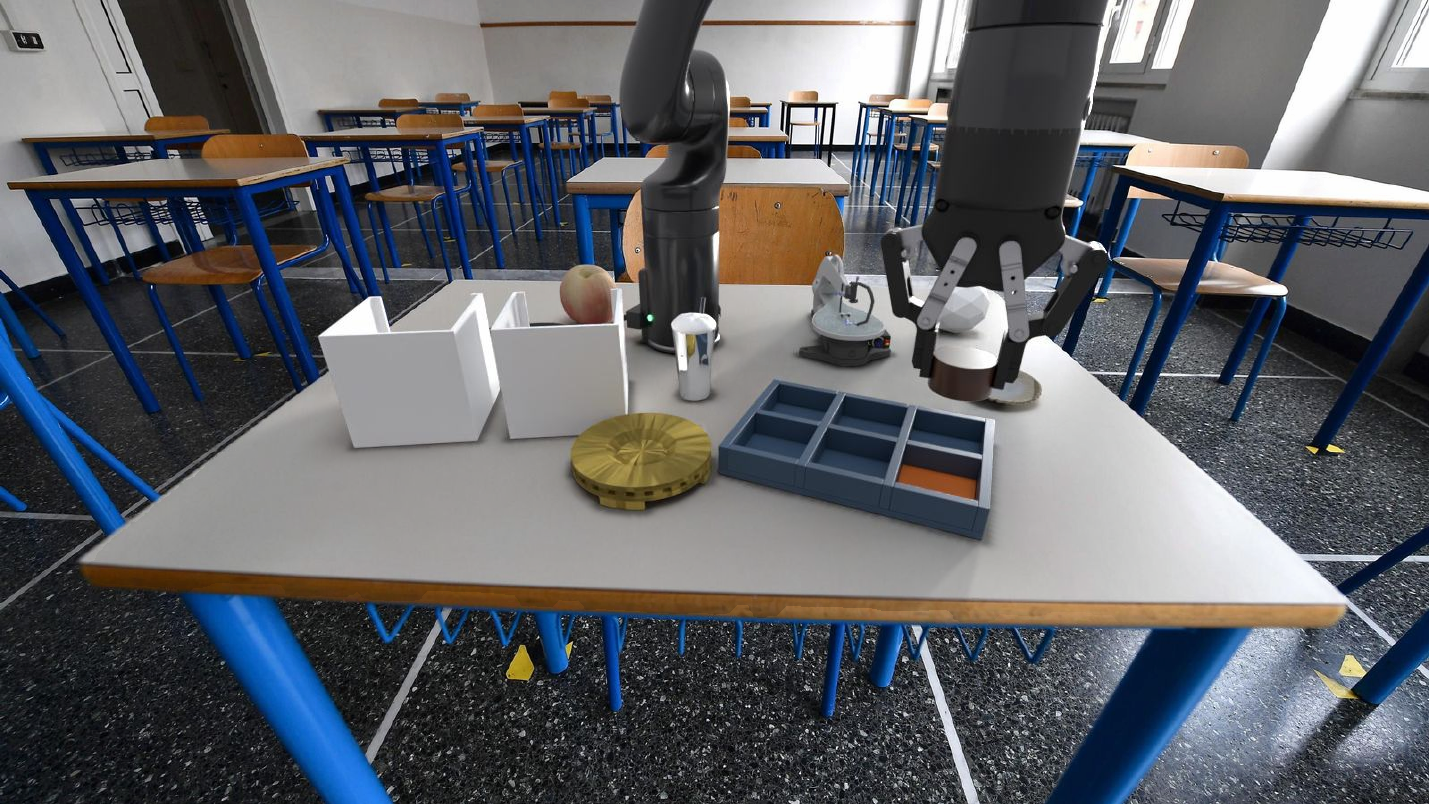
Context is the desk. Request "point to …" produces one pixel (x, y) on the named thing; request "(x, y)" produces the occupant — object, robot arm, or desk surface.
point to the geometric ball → (964, 309)
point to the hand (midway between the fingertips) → (960, 378)
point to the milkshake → (694, 353)
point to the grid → (867, 455)
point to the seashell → (1018, 390)
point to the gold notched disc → (641, 458)
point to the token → (962, 373)
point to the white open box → (474, 375)
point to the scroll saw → (843, 320)
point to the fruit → (587, 294)
